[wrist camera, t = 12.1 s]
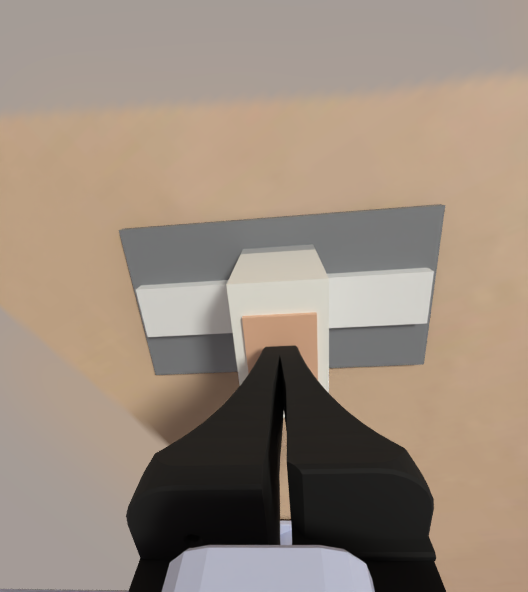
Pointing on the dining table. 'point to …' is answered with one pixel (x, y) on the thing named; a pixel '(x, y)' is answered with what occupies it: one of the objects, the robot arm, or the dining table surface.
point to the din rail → (335, 259)
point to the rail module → (280, 306)
